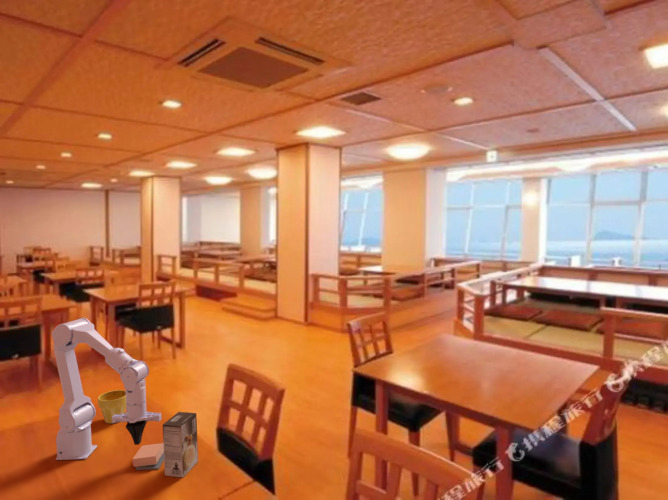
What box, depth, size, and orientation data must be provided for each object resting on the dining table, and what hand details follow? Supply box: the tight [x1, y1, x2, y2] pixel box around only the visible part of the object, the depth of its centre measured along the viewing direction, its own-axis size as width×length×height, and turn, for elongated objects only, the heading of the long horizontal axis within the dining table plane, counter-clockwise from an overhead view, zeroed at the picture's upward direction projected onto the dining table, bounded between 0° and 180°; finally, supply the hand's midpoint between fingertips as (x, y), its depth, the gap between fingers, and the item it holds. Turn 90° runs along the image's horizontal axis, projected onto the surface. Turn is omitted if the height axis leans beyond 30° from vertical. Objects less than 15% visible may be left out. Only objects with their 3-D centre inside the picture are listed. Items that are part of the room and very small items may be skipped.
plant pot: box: [97, 389, 126, 424], centre depth 170 cm, size 10×10×10 cm
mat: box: [135, 452, 164, 471], centre depth 142 cm, size 7×10×1 cm
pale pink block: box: [132, 442, 164, 468], centre depth 142 cm, size 3×8×7 cm
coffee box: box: [162, 411, 199, 478], centre depth 137 cm, size 9×6×16 cm
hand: (137, 443), depth 141 cm, fingers closed
